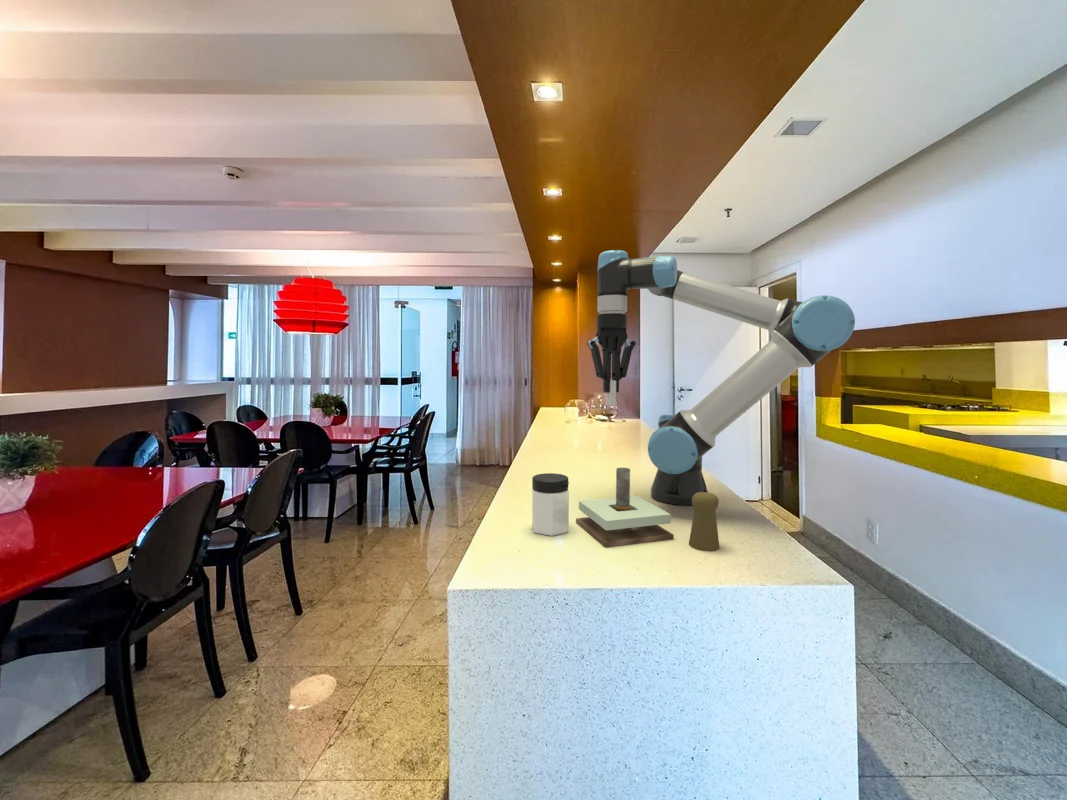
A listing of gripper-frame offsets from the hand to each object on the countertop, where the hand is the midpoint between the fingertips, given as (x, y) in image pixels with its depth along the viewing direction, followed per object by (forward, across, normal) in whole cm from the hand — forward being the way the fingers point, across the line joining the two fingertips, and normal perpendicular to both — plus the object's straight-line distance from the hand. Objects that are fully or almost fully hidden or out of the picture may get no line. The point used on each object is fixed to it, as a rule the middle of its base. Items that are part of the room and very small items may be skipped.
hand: (610, 405), depth 128 cm
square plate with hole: (+23, +6, +19) cm, 31 cm away
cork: (+27, -6, +32) cm, 42 cm away
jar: (+27, +21, +14) cm, 37 cm away
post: (+26, +6, +19) cm, 33 cm away
